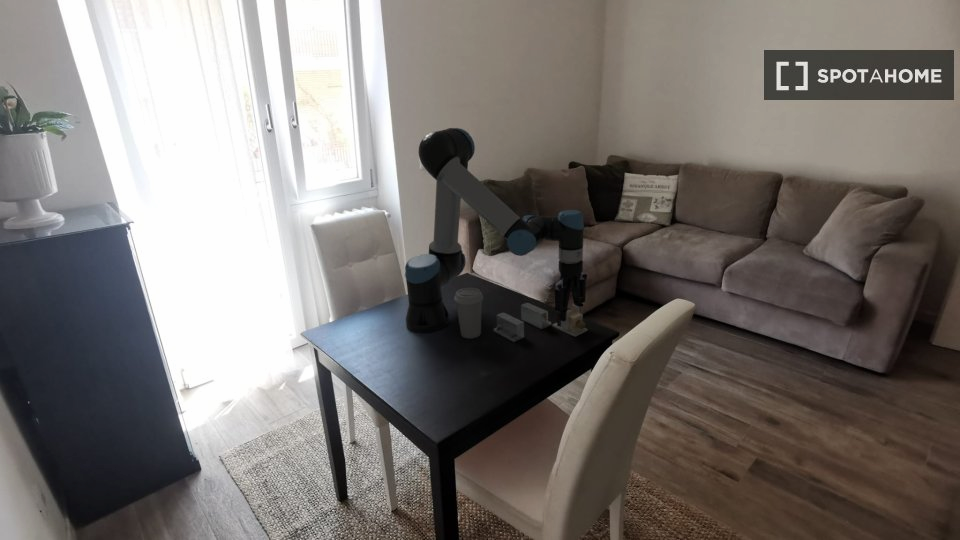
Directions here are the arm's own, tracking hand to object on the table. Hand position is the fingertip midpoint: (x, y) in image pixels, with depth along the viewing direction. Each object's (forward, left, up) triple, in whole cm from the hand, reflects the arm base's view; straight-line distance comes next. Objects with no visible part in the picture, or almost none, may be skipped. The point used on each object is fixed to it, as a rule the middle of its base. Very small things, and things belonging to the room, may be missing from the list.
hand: (570, 326), depth 162 cm
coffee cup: (-20, -26, -1) cm, 33 cm away
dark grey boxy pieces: (-11, -11, -1) cm, 16 cm away
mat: (0, 0, -1) cm, 1 cm away
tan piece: (0, 0, 0) cm, 0 cm away
